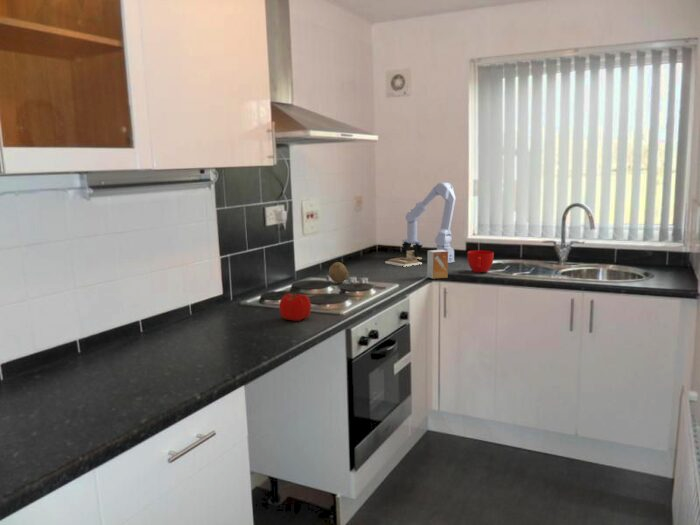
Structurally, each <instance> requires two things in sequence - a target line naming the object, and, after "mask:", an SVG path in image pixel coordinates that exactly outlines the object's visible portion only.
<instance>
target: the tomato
mask: <svg viewBox="0 0 700 525" xmlns="http://www.w3.org/2000/svg"><path fill="white" fill-rule="evenodd" d="M278 308H279V313H280V316H281V317H282V318H283V319H284V320H288V321H293V322H300V321H302V320H306V319H307V318H309V316H310V314H311V311H312V304H311V300H310V297H308V295H306V294H301V293H295V294H292V293H285V294H284V295H283V297H282V298H281V300H280V302H279V307H278Z"/></svg>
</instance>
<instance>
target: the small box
mask: <svg viewBox="0 0 700 525" xmlns="http://www.w3.org/2000/svg"><path fill="white" fill-rule="evenodd" d="M426 265H427V267H426V268H427V269H426V270H427V271H426V272H427V273H426V274H427V275H426V276H427V278H430V279H432V280H435V279H448V274H449V272H448V270H449V263H448V251H445V250H437V249H433V250H432V249H431V250H427V264H426Z"/></svg>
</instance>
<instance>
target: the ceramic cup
mask: <svg viewBox="0 0 700 525" xmlns="http://www.w3.org/2000/svg"><path fill="white" fill-rule="evenodd" d="M494 255H495V253H494V251H491V250H479V249H478V250H469V251H467V263H468V265H469V268H470V269H471V270H472V272H474V273H476V272H478V273H479V274H482V273H481V272H486V273H487V272H488V271H489V270H490V269H491V267H492V265H493V262H494ZM478 273H477V274H478Z"/></svg>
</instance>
